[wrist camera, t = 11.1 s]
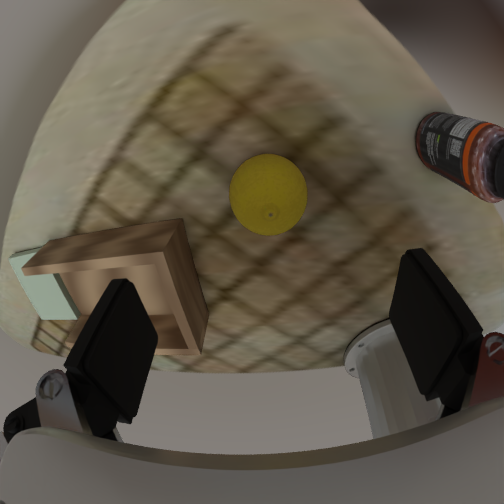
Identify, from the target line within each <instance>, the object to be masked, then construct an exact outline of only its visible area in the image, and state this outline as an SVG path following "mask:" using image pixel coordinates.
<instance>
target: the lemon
mask: <svg viewBox="0 0 504 504" xmlns="http://www.w3.org/2000/svg"><path fill="white" fill-rule="evenodd" d="M229 199H230V203H231V208H232V210H233V212H234V214H235V216H236V218H237V219H238V221H239V222H240V223H241V224H242V225H243V226H244V227H246V228H247V229H249V230H250V231H252V232H254V233H257V234H260V235H267V236H270V235H278V234H281V233H284V232H286V231H288V230H289V229H291V228H292V227H293V226H294V225H295V224H296V223H297V222H298V221H299V220H300V218H301V217H302V215H303V213H304V211H305V207H306V204H307V186H306V183H305V179H304V177H303V175H302V173H301V172H300V170H299V169H298V168H297V167H296V166H295V165H294V164H293V163H292V162H291V161H289V160H288V159H286V158H284V157H282V156H279V155H275V154H261V155H257V156H254V157H252V158H250V159H248V160H246V161H245V162H244V163H243V164H242V165H240V166H239V167H238V169H237V170H236V172H235V174H234V175H233V177H232V180H231V183H230V188H229Z"/></svg>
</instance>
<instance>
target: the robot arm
mask: <svg viewBox="0 0 504 504" xmlns="http://www.w3.org/2000/svg"><path fill="white" fill-rule="evenodd" d="M389 318H390V319H389V320H386V321H383V322H380V323H378V324H376V325H374V326H372V327H370V328H368V329H367V330H365V331H364V332H363V333H361V334H360V335H359V336H358V337H357V338H355V339H354V340H353V342H352V343H351V344H350V345H349V346H348V348H347V350H346V352H345V355H344V365H345V368H346V371H347V372H348V373H349V374H350V375H351V376H353V377H356V378H359V379H360V383H361V387H362V391H363V395H364V399H365V403H366V408H367V412H368V416H369V421H370V425H371V430H372V434H373V439H372V440H368V441H363V442H359V443H354V444H349V445H343V446H338V447H332V448H326V449H318V450H311V451H302V452H292V453H278V454H257V455H225V454H203V453H189V452H179V451H171V450H163V449H156V448H149V447H143V446H138V445H133V444H127V443H124V442H123V440H122V438H121V436H120V434H119V432H118V430H117V428H116V424H117V421H118V422H121V423H127V424H131V423H132V419H133V417H135V416H136V415H137V412H138V408H139V405H140V401H141V398H142V394H143V390H144V387H145V383H146V380H147V376H148V373H149V370H150V366H151V363H152V360H153V357H154V353H155V350H156V347H157V344H158V334H157V332H156V330H155V328H154V326H153V324H152V322H151V320H150V318H149V316H148V313H147V311H146V309H145V307H144V305H143V303H142V301H141V299H140V296H139V294H138V292H137V290H136V287H135V285H134V283H133V282H130V281H129V280H128V279H127V278H121V279H113V280H111V281H110V283H109V284H108V286H107V288H106V289H105V291H104V293H103V294H102V296H101V297H100V299H99V301H98V303H97V304H96V306H95V308H94V309H93V311H92V313H91V314H90V316H89V318H88V320H87V322H86V323H85V325H84V327H83V329H82V330H81V332H80V334H79V336H78V338H77V340H76V342H75V344H74V345H73V347H72V349H71V351H70V353H69V355H68V357H67V359H66V361H65V363H64V367H65V368H66V369H67V371H66V373H64V372H63V371H62V370H59V369H53V370H50V371H48V372H47V373H45V374H44V375H43V376H42V377H41V378H40V380H39V381H38V383H37V386H36V397H35V398H34V399H32V400H31V401H29V402H27V403H26V404H24V405H22V406H21V407H19V408H17V409H16V410H14V411H12V412H11V413H10V414H9V415H8V416H7V417H6V420H5V422H4V428H3V429H4V432H2V431H1V432H0V504H504V334H502V333H498V332H491V333H489V334H487V335H486V336H485V337H483V335H482V331H483V329H482V327H481V325H480V324H479V322H478V321H477V319H476V318H475V316H474V315H473V313H472V312H471V310H470V309H469V307H468V306H467V305H466V303H465V302H464V300H463V299H462V298H461V296H460V295H459V293H458V292H457V291H456V289H455V288H454V287H453V285H452V284H451V283H450V281H449V280H448V279H447V277H446V276H445V275H444V274H443V272H442V271H441V270H440V268H439V267H438V266H437V265H436V263H435V262H434V261H433V260H432V259H431V257H430V256H429V255H428V254H427V253H426V251H425V250H424V249H423V248H417V249H409V250H407V251H406V252H405V254H404V255H402V257H401V261H400V267H399V272H398V277H397V281H396V286H395V290H394V295H393V299H392V303H391V307H390V311H389Z"/></svg>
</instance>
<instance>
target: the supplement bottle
mask: <svg viewBox="0 0 504 504" xmlns="http://www.w3.org/2000/svg"><path fill="white" fill-rule="evenodd" d="M416 144H417V150H418V154H419V156H420V158H421V160H422V161H423V163H424V164H425V165H426V166H427V167H428V168H429V169H431V170H432V171H434V172H436V173H438V174H439V175H441V176H443V177H445V178H447V179H449V180H450V181H452V182H454V183H455V184H457V185H459V186H461V187H462V188H464V189H466V190H467V191H469V192H470V193H472V194H473V195H475V196H477V197H478V198H480V199H482V200H484V201H486V202H490V203H496V202H499V201H502V200H503V199H504V128H502V127H500V126H498V125H495V124H492V123H488V122H484V121H480V120H476V119H472V118H467V117H463V116H459V115H454V114H448V113H441V112H435V113H432V114H430V115H428V116H427V117H425V118H424V119H423V120H422V122H421V123H420V126H419V128H418V131H417V137H416Z"/></svg>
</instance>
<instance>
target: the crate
mask: <svg viewBox="0 0 504 504" xmlns="http://www.w3.org/2000/svg"><path fill="white" fill-rule="evenodd" d="M21 270H22V272H23V274H24V275H25V276H31V275H42V274H53V273H59V274H60V276H61V278H62V280H63V282H64V284H65V286H66V288H67V290H68V292H69V293H70V295H71V297H72V299H73V301H74V303H75V304H76V306H77V308H78V310H79V311H80V313H81V317H80V318H79V320H78V321H77V323H76V325H75V326H74V328H73V330H72V331H71V333H70V335H69V336H68V338H67V340H66V341H65V343H66V344H67V346H68V347H69V348H72V347H73V345H74V344H75V342H76V340H77V338H78V336H79V334H80V332H81V330H82V329H83V327H84V325H85V323H86V322H87V320H88V318H89V316H90V314H91V313H92V311H93V309H94V308H95V306H96V304H97V303H98V301H99V299H100V297H101V296H102V294H103V293H104V291H105V289H106V288H107V286H108V284H109V283H110V281H111V280H113V279H121V278H127V279H128V280H129V281H130V282H133V283H134V285H135V287H136V290H137V292H138V294H139V296H140V299H141V301H142V303H143V305H144V307H145V309H146V311H147V313H148V316H149V318H150V320H151V322H152V324H153V326H154V328H155V330H156V332H157V334H158V344H157V347H156V350H155V353H154V355H201V352H202V347H203V342H204V337H205V332H206V327H207V322H208V317H209V313H208V310H207V306H206V303H205V300H204V296H203V293H202V290H201V286H200V283H199V279H198V276H197V272H196V269H195V265H194V262H193V258H192V254H191V251H190V247H189V243H188V240H187V236H186V232H185V228H184V224H183V220H182V218H181V219H174V220H167V221H160V222H153V223H146V224H140V225H134V226H127V227H121V228H115V229H109V230H104V231H98V232H92V233H87V234H81V235H76V236H71V237H66V238H60V239H55V240H50V241H48V242H47V243H46V244H45V245H44V246H43V247H42V248H41V249H40V250H39V251H38V252H37V253H36V254H35V255H34V256H33V257H32V258H31V259H30V260H29V261H28V262H27V263H26V264H25V265H24V266H23V267H22V268H21Z"/></svg>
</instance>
